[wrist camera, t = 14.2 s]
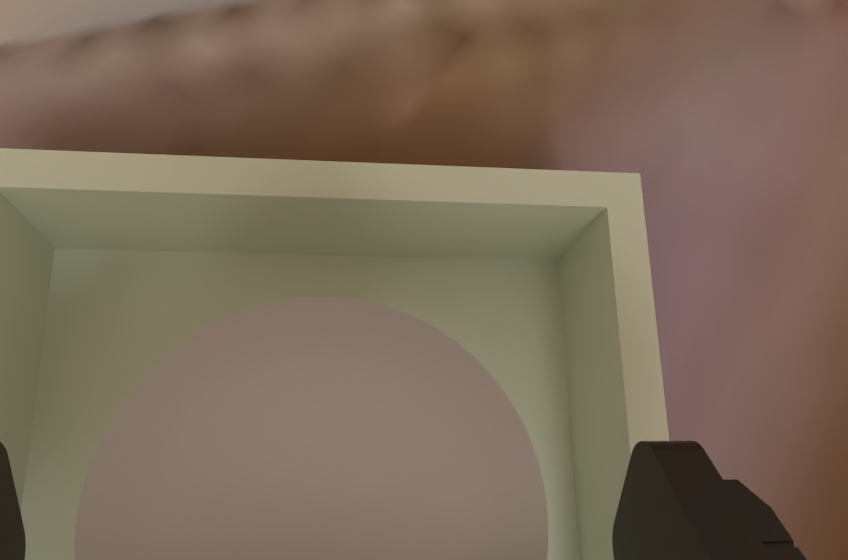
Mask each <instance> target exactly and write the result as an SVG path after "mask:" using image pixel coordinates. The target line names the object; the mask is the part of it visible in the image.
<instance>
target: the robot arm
mask: <svg viewBox="0 0 848 560" xmlns="http://www.w3.org/2000/svg"><path fill="white" fill-rule="evenodd" d="M612 546H613V555H614V560H806V559H805V557H804V556H803V554H802V553H801V551H800V550H799V548H794V545H793V540H792V538H791V537H790V535H789V534H788V532H787V531H786V529H785V528H784V526H783V525H782V523H781V522H780V520H779V519H778V517H777V516H776V514H775V513H774V511H773V510H772V509H771V507H769V506H768V505H767V504H766V503H765V502H763V501H762V500H761V499H760V498H759V497H757V496H756V495H755V494H754V493H753V492H751V491H750V490H749V489H748V488H747V487H745V486H744V485H743V484H742V483H741V482H739V481H738V480H723V479H722V478H721V476H720V474H719V473H718V471H717V470H716V468H715V466H714V465H713V463H712V462H711V460H710V459H709V457H708V455H707V454H706V452H705V451H704V449H703V448H702V446H701V445H700V444H698V443H697V442H695V441H640V442H638V443H637V444H636V445H635V446H634V448H633V451H632V454H631V457H630V461H629V465H628V469H627V473H626V477H625V481H624V485H623V489H622V493H621V497H620V501H619V505H618V509H617V513H616V517H615V521H614V525H613V533H612ZM25 549H26V539H25V531H24V526H23V521H22V517H21V512H20V507H19V503H18V498H17V494H16V489H15V484H14V480H13V475H12V471H11V466H10V461H9V457H8V453H7V450H6V448H5V446H4V445H3V444H2V443H1V442H0V560H24V559H25Z"/></svg>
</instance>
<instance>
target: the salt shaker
mask: <svg viewBox="0 0 848 560" xmlns="http://www.w3.org/2000/svg"><path fill="white" fill-rule="evenodd" d="M547 554H548V511H547V503H546V496H545V488H544V483H543V479H542V475H541V471H540V467H539V463H538V459H537V456H536V453H535V451H534V448H533V445H532V443H531V440H530V438H529V435H528V432H527V430H526V428H525V426H524V424H523V422H522V420H521V419H520V417H519V415H518V413H517V411H516V409H515V407H514V405H513V404H512V402H511V401H510V399H509V398H508V397H507V395H506V394H505V392H504V391H503V390H502V388H501V387H500V385H499V384H498V382H497V381H496V380H495V379H494V378H493V376H492V375H491V374H490V373H489V372H488V371H487V370H486V369H485V368H484V367H483V365H482V364H481V363H480V362H479V361H478V360H477V359H476V358H475V357H474V356H472V355H471V354H470V353H469V352H468V351H467V350H465V349H464V348H463V347H462V346H461V345H460V344H458V343H457V342H456V341H455V340H453V339H452V338H450V337H449V336H447V335H445V334H444V333H442V332H441V331H439V330H438V329H436V328H435V327H433V326H432V325H430V324H428V323H426V322H424V321H421V320H419V319H417V318H415V317H413V316H411V315H409V314H407V313H404V312H401V311H399V310H396V309H393V308H390V307H387V306H384V305H381V304H376V303H372V302H367V301H362V300H357V299H351V298H338V297H304V298H293V299H287V300H281V301H275V302H269V303H266V304H262V305H259V306H256V307H252V308H249V309H246V310H243V311H240V312H237V313H235V314H233V315H230V316H228V317H226V318H224V319H221V320H219V321H217V322H215V323H213V324H211V325H209V326H208V327H206V328H204V329H203V330H201V331H199V332H198V333H196V334H194V335H193V336H191V337H189V338H188V339H186V340H185V341H184V342H182V343H181V344H180V345H178V346H177V347H176V348H175V349H173V350H172V351H171V352H169V353H168V354H167V355H166V356H164V357H163V358H162V359H161V360H160V361H159V362H158V363H157V364H156V365H155V366H154V367H153V368H152V369H151V370H150V371H149V372H148V373H147V374H146V375H145V376H144V377H143V378H142V379H141V380H140V381H139V382H138V384H137V385H136V386H135V387H134V389H133V390H132V391H131V393H130V394H129V395H128V396H127V398H126V399H125V400H124V401H123V403H122V404H121V405H120V407H119V409H118V410H117V412H116V414H115V415H114V417H113V419H112V420H111V422H110V424H109V425H108V427H107V429H106V430H105V432H104V434H103V436H102V438H101V441H100V443H99V445H98V447H97V450H96V452H95V454H94V456H93V459H92V461H91V463H90V467H89V470H88V473H87V476H86V480H85V483H84V486H83V490H82V493H81V498H80V504H79V510H78V516H77V521H76V528H75V554H74V560H547Z"/></svg>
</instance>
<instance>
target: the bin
mask: <svg viewBox="0 0 848 560" xmlns="http://www.w3.org/2000/svg"><path fill="white" fill-rule="evenodd" d="M304 297H338V298H351V299H357V300H362V301H367V302H372V303H376V304H381V305H384V306H387V307H390V308H393V309H396V310H399V311H401V312H404V313H407V314H409V315H411V316H413V317H415V318H417V319H419V320H421V321H424V322H426V323H428V324H430V325H432V326H433V327H435V328H436V329H438V330H439V331H441V332H442V333H444V334H445V335H447V336H449V337H450V338H452V339H453V340H455V341H456V342H457V343H458V344H460V345H461V346H462V347H463V348H464V349H465V350H467V351H468V352H469V353H470V354H471V355H472V356H474V357H475V358H476V359H477V360H478V361H479V362H480V363H481V364H482V365H483V367H484V368H485V369H486V370H487V371H488V372H489V373H490V374H491V375H492V376H493V378H494V379H495V380H496V381H497V382H498V384H499V385H500V387H501V388H502V390H503V391H504V392H505V394H506V395H507V397H508V398H509V399H510V401H511V402H512V404H513V405H514V407H515V409H516V411H517V413H518V415H519V417H520V419H521V420H522V422H523V424H524V426H525V428H526V430H527V432H528V435H529V438H530V440H531V443H532V445H533V448H534V451H535V453H536V456H537V459H538V463H539V467H540V471H541V475H542V479H543V483H544V488H545V496H546V503H547V511H548V554H547V560H614V555H613V546H612V533H613V525H614V521H615V517H616V513H617V509H618V505H619V501H620V497H621V493H622V489H623V485H624V481H625V477H626V473H627V469H628V465H629V461H630V457H631V454H632V451H633V448H634V446H635V445H636V444H637V443H638V442H640V441H669V432H668V423H667V414H666V405H665V396H664V387H663V378H662V369H661V360H660V350H659V341H658V332H657V323H656V314H655V305H654V296H653V287H652V278H651V269H650V259H649V250H648V241H647V232H646V223H645V214H644V205H643V196H642V187H641V178H640V173H616V172H591V171H565V170H540V169H515V168H489V167H464V166H439V165H413V164H388V163H363V162H337V161H312V160H287V159H261V158H236V157H210V156H185V155H160V154H134V153H109V152H84V151H58V150H33V149H8V148H0V442H1V443H2V444H3V445H4V446H5V448H6V450H7V453H8V457H9V461H10V466H11V471H12V475H13V480H14V484H15V489H16V494H17V498H18V503H19V507H20V512H21V517H22V521H23V526H24V531H25V539H26V549H25V559H24V560H74V554H75V528H76V521H77V516H78V510H79V504H80V498H81V493H82V490H83V486H84V483H85V480H86V476H87V473H88V470H89V467H90V463H91V461H92V459H93V456H94V454H95V452H96V450H97V447H98V445H99V443H100V441H101V438H102V436H103V434H104V432H105V430H106V429H107V427H108V425H109V424H110V422H111V420H112V419H113V417H114V415H115V414H116V412H117V410H118V409H119V407H120V405H121V404H122V403H123V401H124V400H125V399H126V398H127V396H128V395H129V394H130V393H131V391H132V390H133V389H134V387H135V386H136V385H137V384H138V382H139V381H140V380H141V379H142V378H143V377H144V376H145V375H146V374H147V373H148V372H149V371H150V370H151V369H152V368H153V367H154V366H155V365H156V364H157V363H158V362H159V361H160V360H161V359H162V358H163V357H164V356H166V355H167V354H168V353H169V352H171V351H172V350H173V349H175V348H176V347H177V346H178V345H180V344H181V343H182V342H184V341H185V340H186V339H188V338H189V337H191V336H193V335H194V334H196V333H198V332H199V331H201V330H203V329H204V328H206V327H208V326H209V325H211V324H213V323H215V322H217V321H219V320H221V319H224V318H226V317H228V316H230V315H233V314H235V313H237V312H240V311H243V310H246V309H249V308H252V307H256V306H259V305H262V304H266V303H269V302H275V301H281V300H287V299H293V298H304Z"/></svg>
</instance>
